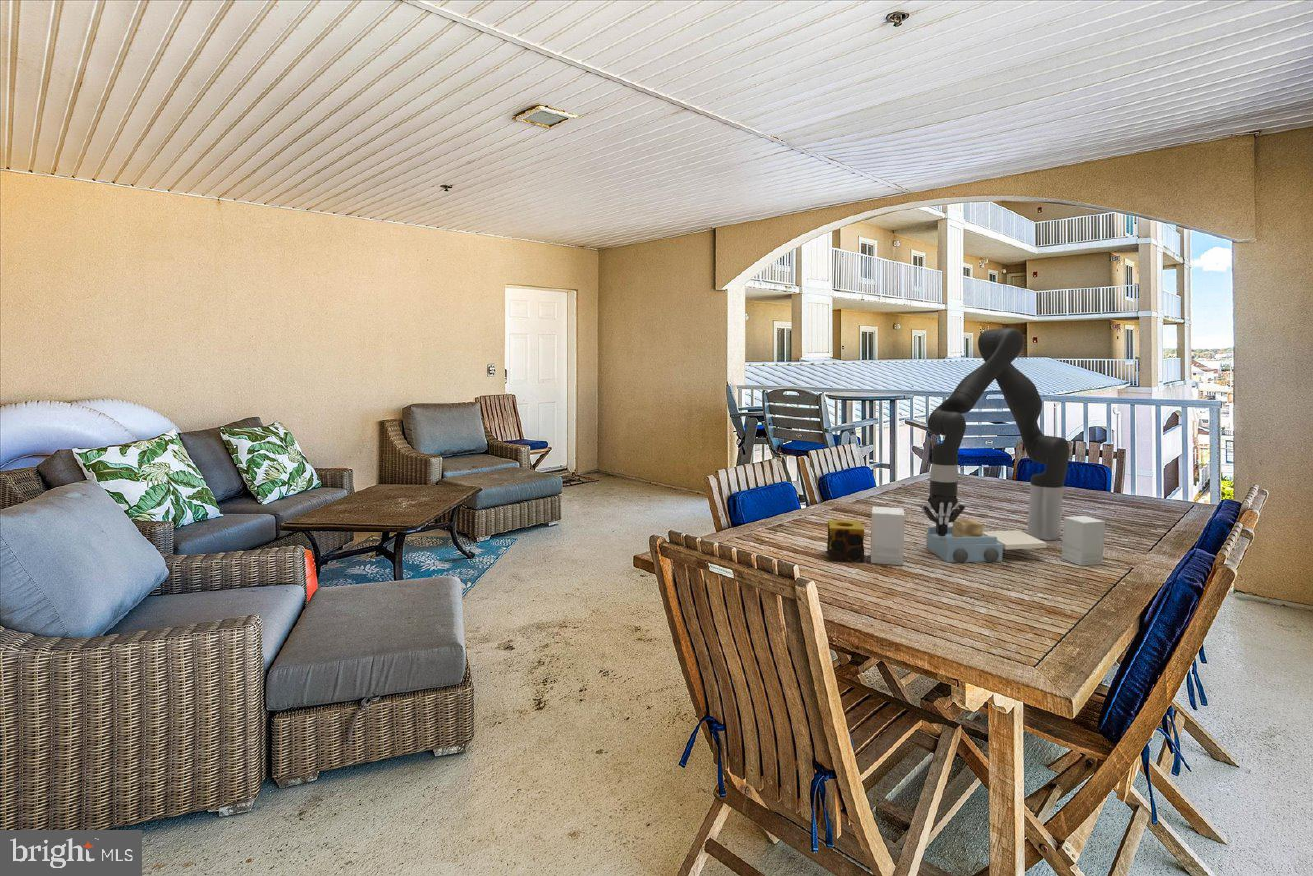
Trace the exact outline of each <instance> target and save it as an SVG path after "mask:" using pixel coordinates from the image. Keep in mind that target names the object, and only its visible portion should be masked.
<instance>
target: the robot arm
mask: <svg viewBox="0 0 1313 876" xmlns="http://www.w3.org/2000/svg"><path fill="white" fill-rule="evenodd" d="M1024 343H1025V342H1024V337H1023V334H1022V332H1021V331H1020V330H1018V329H1017V328H1012V327H1011V328H1009V327H1008V328H1007V327H1006V328H992V329H991V328H990V329H986V330H984V331H982V332H980V334H979V336H978V339H977V345H978V346H977V348H978V351H979V353H980V356H981V358H982V359H983V361H984V363H982V364H981V365H980V366H979V367H977V368H976V369H974V370H973V371H971V372H970V373H969V374H968V375H966V376H965V377H964V378H962V380H961V381H960V382H959V383H958V384H957V386H956V387H955V389H954V390H953V391H952V393H951V395H950V396H949V397H947V398H946V399H945V400H944V401H943V402H942V403H940V404H939V405H938V406H937V407H936V408H935V409H934V410H933V411H932V412H931V413H930V415H929V417H928V419H927V428H928V430H929V432H931V433H932V434H935V435H940V436H944V439H943V441H942V442H939V443H935V444H934V445H933V446H932V450H931V465H930V474H929V496H928V499H927V502H925V504H921V505H920V506H919V507H920V509H921V510H922V511H923V513H924V515H925V516H926V517H927V518H928V519H929V521H930V522H931V521H932V522H933V523H935V527H936V533H937V535H938V536H945V534H947V527H948V526H949V523H953V522H954V521H955V520H956V519H958V517H959V516H960V515H961V514H962V512H963V511H964V510H965V508H966V507H965V505H963V504H961V503H960V502H958V501H959V500H958V499H959V498H958V497H957V495H958V483H959V482H958V481H959V465H958V464H959V451H960V446H961V445H962V442H963V441H962V440H963V439H964V438H963V437H964V435H965V432H966V428H967V423H966V419H965V417H964V415H963V414H967V413H969V412H971V411H972V409H973V408H974V407H975V405H976V404H977V403H978V401H979V400H980V398H981V396H982V395H983V394H984V392H985V391H986V390H987V389H988V387H990V385H991V384H992V382H993V381H996V383H997V385H998V387H999V389H1000V391H1001V393H1002V395H1003V398H1004V400H1005V403H1006V406H1007V407H1008V409H1009V411H1010V414H1011V415H1012V417H1013V419H1014V421H1015V424H1016V425H1017V429H1018V431H1019V434H1020V436H1021V440H1022V443H1023V446H1024V450H1025V452H1026V455H1027V456H1028V458H1029V460H1031V462H1034V463H1037V464H1042V465H1046V466H1045V470H1044V471H1043V472H1040V473H1035V474H1033V475H1031V477H1030V485H1029V486H1030V488H1029V489H1030V490H1029V501H1028V502H1029V506H1028V519H1027V532H1026V534H1028V535H1030V536H1032V537H1034V538H1037V539H1039V540H1042V541H1044V540H1045V541H1057V540H1060V538H1061V523H1062V511H1063V510H1062V509H1063V498H1064V496H1063V495H1064V484H1065V480H1066V478H1067V475H1068V473H1067V472H1068V465H1069V458H1070V445H1069V442H1068V441H1067V439H1066V438H1064V437H1061V436H1052V435H1045V434H1043V432H1042V431H1041V428H1040V427H1039V424H1038V420H1039V418H1040V415H1041V412H1042V409H1043V400H1042V398H1041V396H1040V393H1039V390H1038V389H1037V386H1036V385H1035V383H1034V382H1033V381H1032V380H1031V379H1030V378H1029V377H1028V376H1026V375H1025V374H1024V373H1023V372H1021V371H1020V370H1019V369H1018V368H1017V367H1016V366H1015V365H1013V363H1012V362H1013V361H1014V360H1015V359H1016V358H1017V357H1018V356H1019V354H1020V353H1021V351H1022V350H1023V347H1024ZM931 510H933V512H934V513H932V511H931Z"/></svg>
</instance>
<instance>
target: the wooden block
mask: <svg viewBox="0 0 1313 876" xmlns="http://www.w3.org/2000/svg"><path fill="white" fill-rule="evenodd" d="M952 526H953V529H952V536H954V537H982V532H984V531H983V530H984V529H983V528H984V524H983V523H981V522H979V521H977V520H975V519H973V518H972V519H971V518H970V519H969V518H966V519H963V518H962V519H961V518H959V519H958V518H956V520H955V521H954V522H952Z"/></svg>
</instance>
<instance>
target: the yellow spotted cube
mask: <svg viewBox="0 0 1313 876" xmlns="http://www.w3.org/2000/svg"><path fill="white" fill-rule="evenodd" d="M864 539H865V528H864V526H863V524H862V522H861V521H859V520H842V519H841V520H835V519H829V520H827V542H826V543H827V544H826V552H827V557H828V560H829V561H832V562H846V563H847V562H853V563H854V562H855V563H865V545H864Z"/></svg>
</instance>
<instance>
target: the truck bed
mask: <svg viewBox="0 0 1313 876" xmlns="http://www.w3.org/2000/svg"><path fill="white" fill-rule="evenodd" d="M952 529H953V525H951V526H949V525H948V527H947V534H945V536H938V535H937V533H936V526H927V532H926V541H925V542H926V545H925V546H926V547H925V548H926V549H927V550H928V551H930V552H931V553H933V554H934V555H936V556H938V557H939V558H940V559H942V560H943V561H945V562H946V563H959V564H963V563H976V562H977V563H978V562H979V563H980V562H981V563H983V562H985V563H987V562H989V563H994V562H1002V561H1003V551H1004V550H1003V549H1004V548H1003V544H1001V543H999V542H997V537H995V536H989V537H987V536H985V535H983V534H982V537H954V536H952Z"/></svg>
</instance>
